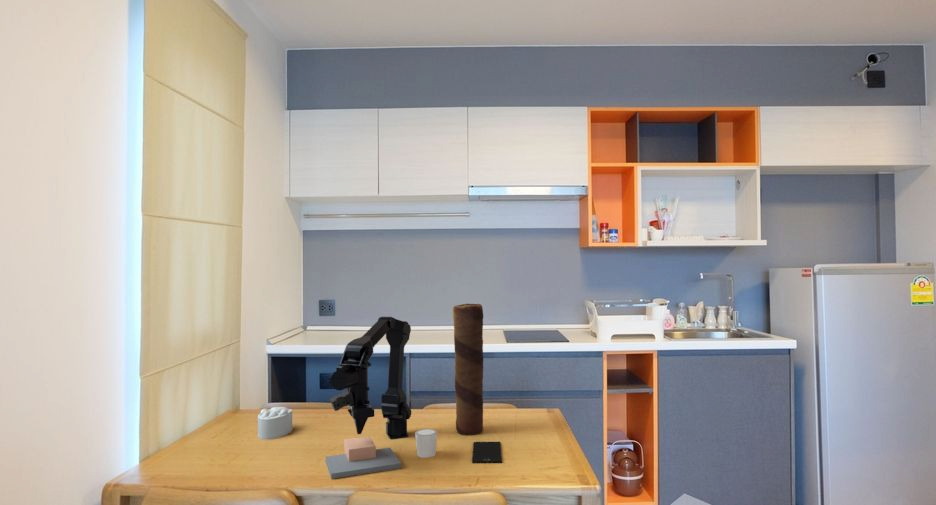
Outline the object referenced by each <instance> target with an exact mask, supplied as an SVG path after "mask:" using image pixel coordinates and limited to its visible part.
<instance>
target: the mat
mask: <svg viewBox="0 0 936 505" xmlns="http://www.w3.org/2000/svg"><path fill="white" fill-rule="evenodd" d="M325 464H326V467H327V470H328V473H329V475H330V478H331V480H333V479H334V480H335V479H341V478H346V477H347V478H348V477H354V476H359V475H367V474H372V473H378V472H379V473H380V472H386V471H391V470H399V469H402V462H401V461H400V459H399V457H397V455H396V453H395V452H394V451H393V449H392V448H391V447H385V448H378V449H377V448H376V458H370V459H363V460H356V461H349V460H348V458H347V456H346V454H345V453H343V454H342V453H341V454H334V455H333V454H332V455H327V456H325Z"/></svg>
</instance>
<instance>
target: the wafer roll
mask: <svg viewBox="0 0 936 505" xmlns="http://www.w3.org/2000/svg"><path fill="white" fill-rule="evenodd" d="M452 320H453V337H454V338H453V340H454V341H453V342H454V354H455V355H454V363H455V365H454V392H455V395H454V396H455V406H456V408H455V412H456V413H455V414H456V415H455V416H456V418H455V430H456V432H458V433H459V434H462V435H469V436H470V435H471V436H472V435H477V434H481V433H483V432H484V399H483V398H484V393H483V392H484V389H483V388H484V386H483V385H484V384H483V383H484V382H483V380H484V339H483V335H484V333H483V328H484V310H483V305H482V304H480V303H464V304H457V305H453V308H452Z"/></svg>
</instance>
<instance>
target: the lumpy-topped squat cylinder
mask: <svg viewBox="0 0 936 505" xmlns="http://www.w3.org/2000/svg"><path fill="white" fill-rule="evenodd" d="M292 431H293V409H291V408H288V407H286V406H273V407H271V408H270V409H268V408H262V410H260V413H259V414H258V415H257V438H258V439H259V440H264V441H266V440H273V439H274V440H275V439H280V438H282V437H285V436H287V435H289V434H290V433H291V432H292ZM289 432H290V433H289ZM288 433H289V434H288Z"/></svg>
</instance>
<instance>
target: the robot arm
mask: <svg viewBox="0 0 936 505" xmlns="http://www.w3.org/2000/svg"><path fill="white" fill-rule="evenodd" d="M411 330H412V327H411V325H410V324H409V323H408V321H405V320H404V321H403V320H400V319H397V318H395V317H392V316H379V317H378V318H377V321H376V322H375V323H374V324H372V326H371V327H369V329H368V330H367V331H366V332H365V333H364V334H363V335H362V336H360V337H357V338H355V339H353V340H351V341H349V342H348V343H347V344H346V346H345V348H344V351H343V352H342V353H343V354H342V356H341V358H340V361H339V364H338V366H336V368H335V369H336V370H335V371H334V372H332V374H331V377H330V384H331V386H332V387H333V389H335V390H336V391H342V390H346V391H344V392H342V393H339V394H336V395H334V396H332V397H331V398H330V399H329V401H330V403H331V405H332V408H333V410H334V412H338V411H340V409H342V408H344V407H348V406H349V407H350V408H349V409H347V412H348V413H349V415H350V417H352V419H353V422H354V425H355V431H356V434H357V435H361V434H362V433H363V430H364V428H365V426H366V424H367V421H368V419H369V418H374V417H375V409H374V407H372V406H371V405H370V399H369V391H370V386H369V381H368V380H369V378H368V377H369V370H368V369H369V367H371V366H372V363H371V362H369V360H370V358H371V357H372V355H373V354H374V347H375V346H376V345H377V344H378V343H379V342H380V341H381V340H382V339H383V338H384V336H385V339H386V341H387V343H388V346H389V362H388V375H387V376H388V381H387V389H386V391H385V392H384V393H382V394H381V403H380V408H381V409H380V410H381V413H382V417H383V419H387V421H386V422H385V434H386V435H387V437H388V438H389V439H390V440H392V439H400V438H406V437H409V434H408V420H410V418H411V417H412V409H411V408H410V406H409V405H408V403H407V395H406V393H405V392H404V390H403V376H404V358H405V357H404V355H405V346H406V344H407V343H408V341H409V340H410V336H411V332H412V331H411Z"/></svg>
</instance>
